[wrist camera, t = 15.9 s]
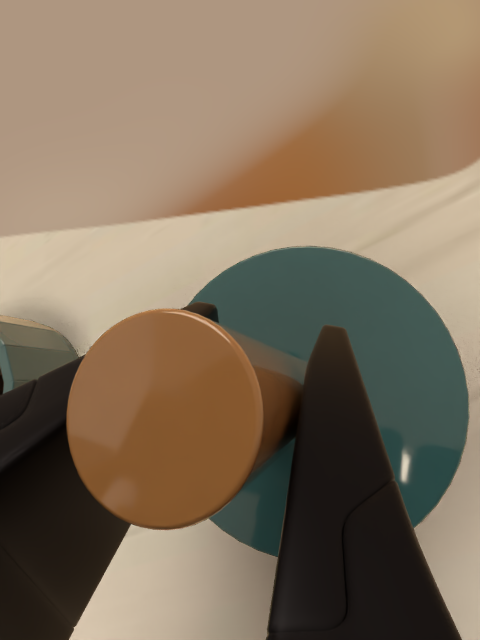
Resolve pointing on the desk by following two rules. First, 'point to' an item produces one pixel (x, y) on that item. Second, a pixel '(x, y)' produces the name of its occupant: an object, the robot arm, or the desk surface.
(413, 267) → the desk surface
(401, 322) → the lid
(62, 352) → the pot
